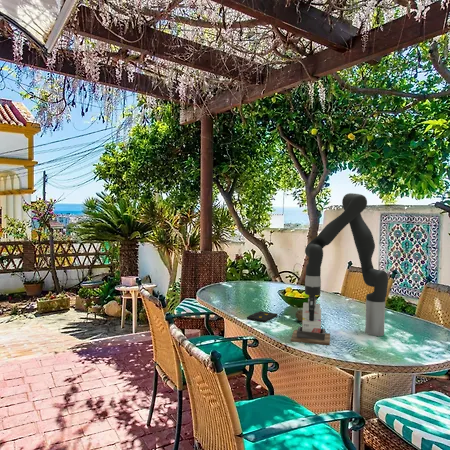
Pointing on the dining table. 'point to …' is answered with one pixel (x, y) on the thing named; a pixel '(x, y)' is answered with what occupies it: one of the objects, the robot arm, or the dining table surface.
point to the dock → (311, 337)
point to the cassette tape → (262, 316)
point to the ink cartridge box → (311, 325)
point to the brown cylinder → (299, 315)
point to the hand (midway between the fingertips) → (311, 319)
